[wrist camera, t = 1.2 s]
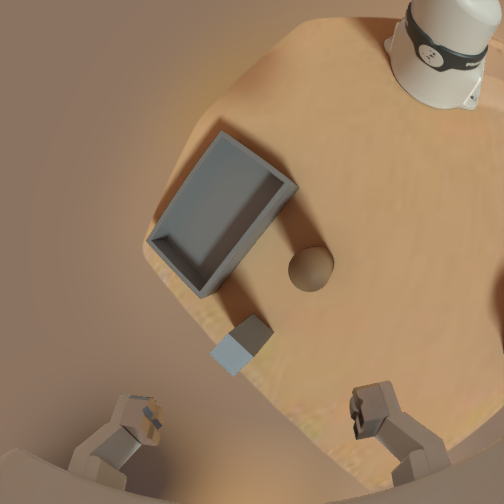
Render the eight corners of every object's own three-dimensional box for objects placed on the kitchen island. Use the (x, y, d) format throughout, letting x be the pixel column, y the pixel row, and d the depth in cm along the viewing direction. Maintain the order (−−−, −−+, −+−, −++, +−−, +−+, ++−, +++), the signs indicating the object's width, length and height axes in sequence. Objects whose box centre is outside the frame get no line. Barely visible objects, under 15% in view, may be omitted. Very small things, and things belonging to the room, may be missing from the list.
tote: (234, 139, 44) (221, 130, 39) (299, 187, 41) (292, 181, 36) (163, 240, 49) (145, 241, 45) (215, 292, 46) (200, 299, 42)
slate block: (253, 313, 44) (228, 333, 35) (274, 332, 44) (253, 357, 34) (237, 331, 46) (209, 353, 36) (256, 350, 45) (233, 376, 35)
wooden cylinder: (315, 239, 41) (306, 240, 32) (341, 261, 40) (339, 268, 31) (293, 264, 42) (279, 272, 33) (318, 286, 41) (311, 300, 32)
